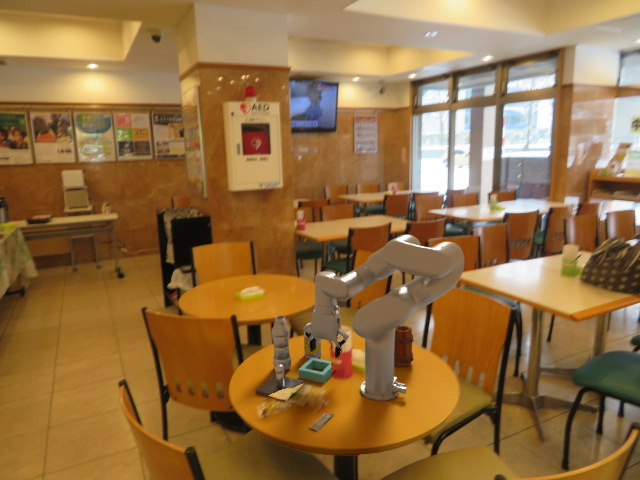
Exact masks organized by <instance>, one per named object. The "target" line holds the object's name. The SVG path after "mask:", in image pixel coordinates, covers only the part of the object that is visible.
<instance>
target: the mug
mask: <svg viewBox="0 0 640 480" xmlns="http://www.w3.org/2000/svg"><path fill="white" fill-rule="evenodd" d="M412 330H413V329H412V328H411V326H408V325H404V324H401V325H400V326H398V327H396V329H395V348H394V366H397V367H408V366H411V364H412V363H413V361H414V360H415V359H414V352H413V342H414V335H413V334H412Z"/></svg>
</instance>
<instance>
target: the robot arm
mask: <svg viewBox="0 0 640 480" xmlns="http://www.w3.org/2000/svg"><path fill="white" fill-rule="evenodd" d="M464 269H465V255H464V251H463V250H462V248H461V246H459V244H457V243H455V242H453V241H443V242H439V243H437V244H435V245H434V246H432V247H428V246H423V245H421V242H420V240H419V239H418V238H417V237H415V236H414V235H411V234H403V235H399V236H397V237H395V238H393V239H391V240H389V241H388V242H386V244H385V245H384V246H383V247H381V248H380V249H378V250H376V251H375V252H373V253H372V254H370V255H369V256H368V257H367V260H366V261H365V262H364V263H362V264H361V265H358V267H356V268H355V269H353V270H351V271H350V272H347V273H346V274H344V275H342V276H337V274H336V273H335V272H332V271H325V270H324V271H320V272H317V273H316V274H315V276H314V278H315V279H314V309H313V311H312V314H311V315H312V316H311V319H310V320H311V322H310V323H311V324H309V325H304V326H302V329H303V333H304V332H305V335H306V336H307V337H308V340H309V341H310V352H313V351H314V350H315V349H316V338H320V339H321V340H325V341H330V342H333V343H334V345H335V348H334V358H336V359H337V358H339V357H340V356H341V355H340V351H341V352H342V348H341V346H344V344H346V342H347V340H348V339H349V338H350V336H349V334H348V333H346V332H345V331H344V330H343V329H342V323H341V322H342V321H341V315H340V312H339V311H341V306H338V301H341V302H344V301H347V300H350V299H351V298H352V297H354V296H355V295H357V294H359V293H360V292H362V291H364V290H365V289H367V288H369V287H370V286H372V285H373V284H375V283H377V282H378V281H380V280H385V279H387V278H388V277H390V276H392V275H393V274H396V272H398V271H400V272H403V273H406V274H410V275H414V276H417V277H415V278H414V279H411V280H409V281H408V282H406V283H404V284H402V285H399V286H397V287H395V288H394V289H392V290H390V291H389V292H388V293H385V294H384V295H383V296H381V297H378V298H375V299H372V300H371V301H369V302H368V303H367V304H365V305H364V306H362V307H361V308H360V309H359V310H357V311H355V314H354V315H353V318H352V320H351V321H352V322H351V323H352V328H353V331H354V332H355V334H356V335H357V336H358V337H360V338H362V339H364V381H363V382H361V385H360V392H361V394H362V395H363V397H365V398H367V399H369V400H372V401H383V402H384V401H385V402H386V401H389V400H392V399H394V398H396V397H397V396H398V394H399V393H400V394H407V389H408V388H407V387H406V384H405V383H402V382H398V378H397V376H395V364H394V348H395V329H396V327H398V326H401V325H404V323H406V322H407V321H409V320H410V319H411V318H412V317H414V315H415V314H416V313H417V312H418V311H419V310H420V309H422V308H424V307H427V306H428V305H430V304H431V303H434V302H435V301H436V300H438V299H440V298H441V297H443V296H445V295H447V293H449V292H450V291H451V290H452V289H454V287H455V286H456V285H457V284H458V282H459V281H460V279H461V277H462V275H463V272H464ZM310 328H311V332H310V331H309V329H310ZM338 334H340V335H341V336H340V337H342V339H341V340H342V341H341V342H338V341H337V339H338V337H337V336H338ZM314 337H315V338H314ZM340 348H341V349H340Z"/></svg>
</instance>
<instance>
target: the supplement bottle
mask: <svg viewBox="0 0 640 480" xmlns="http://www.w3.org/2000/svg"><path fill="white" fill-rule="evenodd" d="M309 324H311V322H308V323H306V325H309ZM306 325H305V326H306ZM309 331H310V332H311V328H310V329H309ZM314 338H315V337H314ZM303 345H304V346H303V348H304V350H303V351H304V357H306V358H307V359H310V358H311V357H312V358H317V359H320V357H322V339H320V338H316V349H315V350H314V351H313V352H310V341H309V340H308V337H307V336H306V335H305V332H304V331H303Z"/></svg>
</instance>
